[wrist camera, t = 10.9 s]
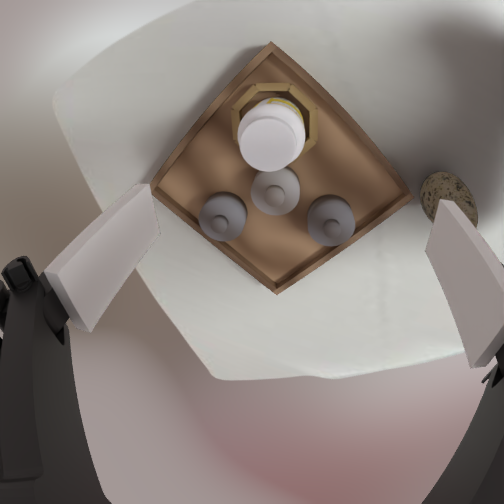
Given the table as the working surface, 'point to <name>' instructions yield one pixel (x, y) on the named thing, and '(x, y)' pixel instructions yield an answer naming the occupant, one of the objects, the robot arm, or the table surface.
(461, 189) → the decorative egg
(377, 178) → the carrier
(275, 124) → the supplement bottle
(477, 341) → the robot arm
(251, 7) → the table surface
